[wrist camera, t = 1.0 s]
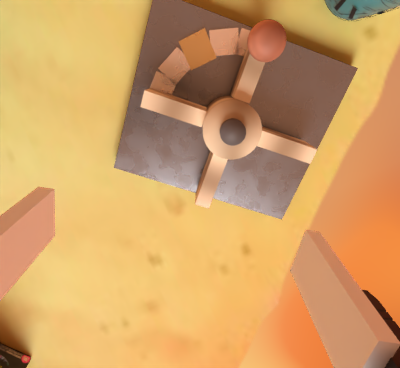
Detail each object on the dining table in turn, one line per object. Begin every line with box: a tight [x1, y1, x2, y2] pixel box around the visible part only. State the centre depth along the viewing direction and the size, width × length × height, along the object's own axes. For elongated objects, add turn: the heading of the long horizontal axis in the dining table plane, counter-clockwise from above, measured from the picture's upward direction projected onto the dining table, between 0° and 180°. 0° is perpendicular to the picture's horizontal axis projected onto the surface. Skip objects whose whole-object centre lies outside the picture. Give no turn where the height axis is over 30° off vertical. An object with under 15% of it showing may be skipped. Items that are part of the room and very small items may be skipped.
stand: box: [114, 0, 358, 219], centre depth 33 cm, size 22×19×2 cm
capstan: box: [140, 20, 317, 208], centre depth 28 cm, size 18×19×7 cm
